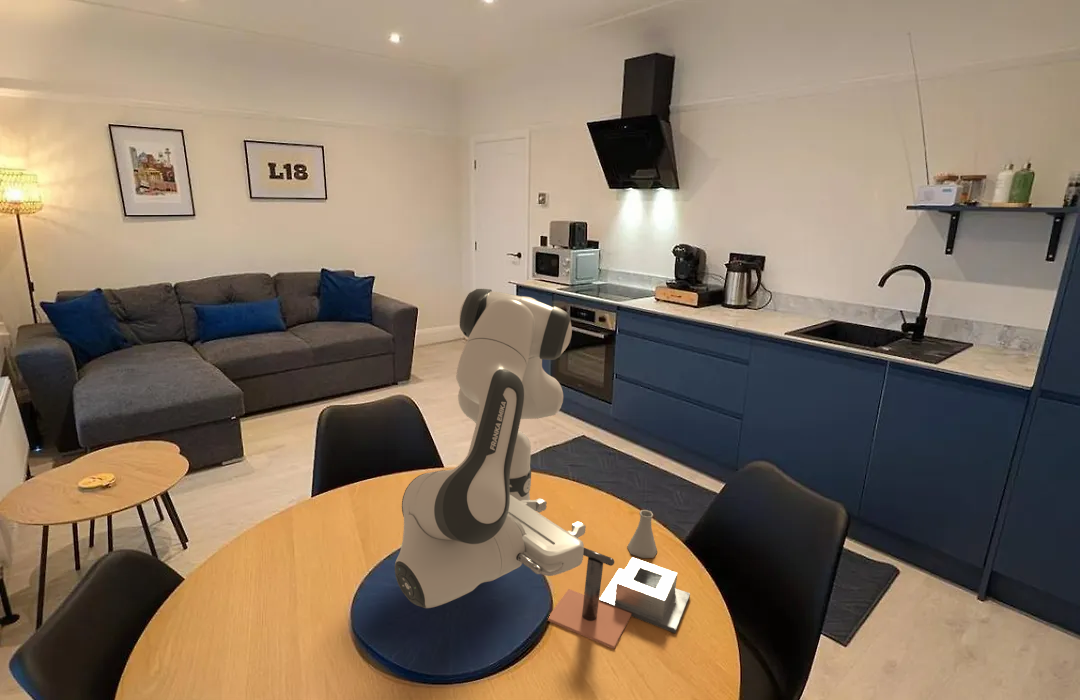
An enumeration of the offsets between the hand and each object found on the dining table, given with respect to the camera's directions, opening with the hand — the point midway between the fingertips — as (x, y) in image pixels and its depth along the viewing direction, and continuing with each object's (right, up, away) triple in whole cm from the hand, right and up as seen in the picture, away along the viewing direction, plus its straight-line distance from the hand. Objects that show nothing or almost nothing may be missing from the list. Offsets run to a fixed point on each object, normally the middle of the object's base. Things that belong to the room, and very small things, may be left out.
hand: (562, 514), depth 94 cm
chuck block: (+18, -24, +21) cm, 37 cm away
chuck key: (+6, -25, +15) cm, 30 cm away
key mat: (+6, -25, +15) cm, 30 cm away
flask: (+21, -20, +39) cm, 48 cm away
